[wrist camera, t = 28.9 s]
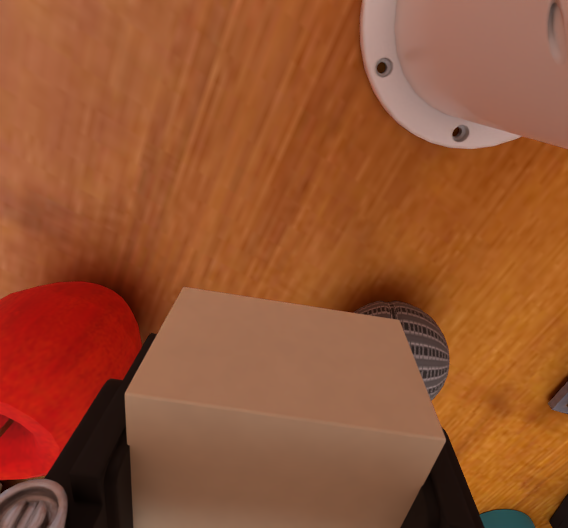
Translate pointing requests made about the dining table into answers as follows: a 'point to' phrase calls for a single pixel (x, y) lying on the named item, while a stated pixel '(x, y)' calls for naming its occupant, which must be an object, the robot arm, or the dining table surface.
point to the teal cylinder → (506, 519)
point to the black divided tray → (560, 516)
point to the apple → (56, 367)
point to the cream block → (277, 418)
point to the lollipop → (418, 340)
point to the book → (560, 400)
